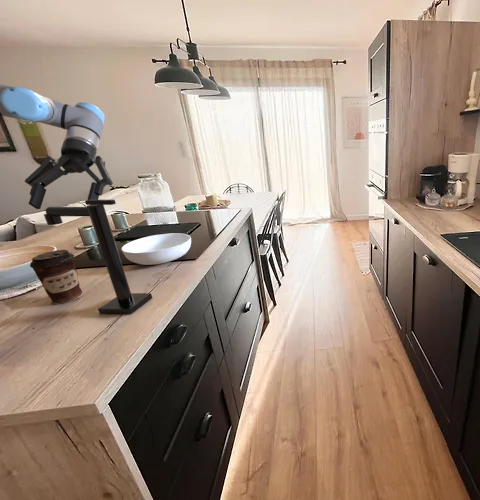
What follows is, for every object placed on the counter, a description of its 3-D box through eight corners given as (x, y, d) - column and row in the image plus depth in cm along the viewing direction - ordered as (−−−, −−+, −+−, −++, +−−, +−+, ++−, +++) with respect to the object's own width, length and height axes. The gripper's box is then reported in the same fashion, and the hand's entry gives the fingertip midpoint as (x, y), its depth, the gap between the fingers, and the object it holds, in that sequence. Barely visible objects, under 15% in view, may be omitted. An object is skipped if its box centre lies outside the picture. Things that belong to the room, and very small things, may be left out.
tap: (66, 313, 71) (21, 203, 61) (94, 297, 79) (57, 196, 69) (132, 314, 71) (97, 203, 61) (154, 298, 78) (126, 196, 68)
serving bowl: (153, 249, 114) (149, 232, 112) (205, 249, 113) (201, 233, 111) (110, 271, 95) (104, 251, 92) (172, 272, 94) (167, 252, 91)
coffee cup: (94, 295, 80) (78, 252, 75) (53, 310, 73) (33, 263, 68) (81, 288, 84) (65, 246, 79) (42, 301, 77) (22, 256, 72)
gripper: (133, 154, 93) (122, 210, 85) (42, 155, 88) (21, 214, 80) (119, 137, 86) (106, 195, 78) (20, 137, 82) (-5, 199, 73)
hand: (63, 205), depth 79 cm, fingers open, 13 cm apart
